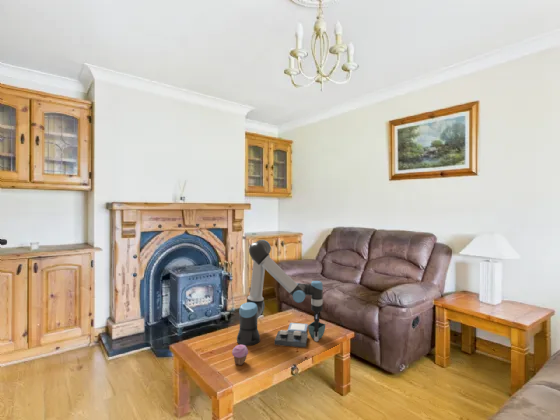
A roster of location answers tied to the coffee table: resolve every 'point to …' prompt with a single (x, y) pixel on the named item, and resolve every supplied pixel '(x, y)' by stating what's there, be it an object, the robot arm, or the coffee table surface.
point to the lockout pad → (298, 327)
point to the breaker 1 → (284, 332)
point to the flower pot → (320, 329)
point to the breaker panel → (291, 339)
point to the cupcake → (240, 354)
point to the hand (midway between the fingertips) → (316, 337)
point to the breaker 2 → (297, 333)
